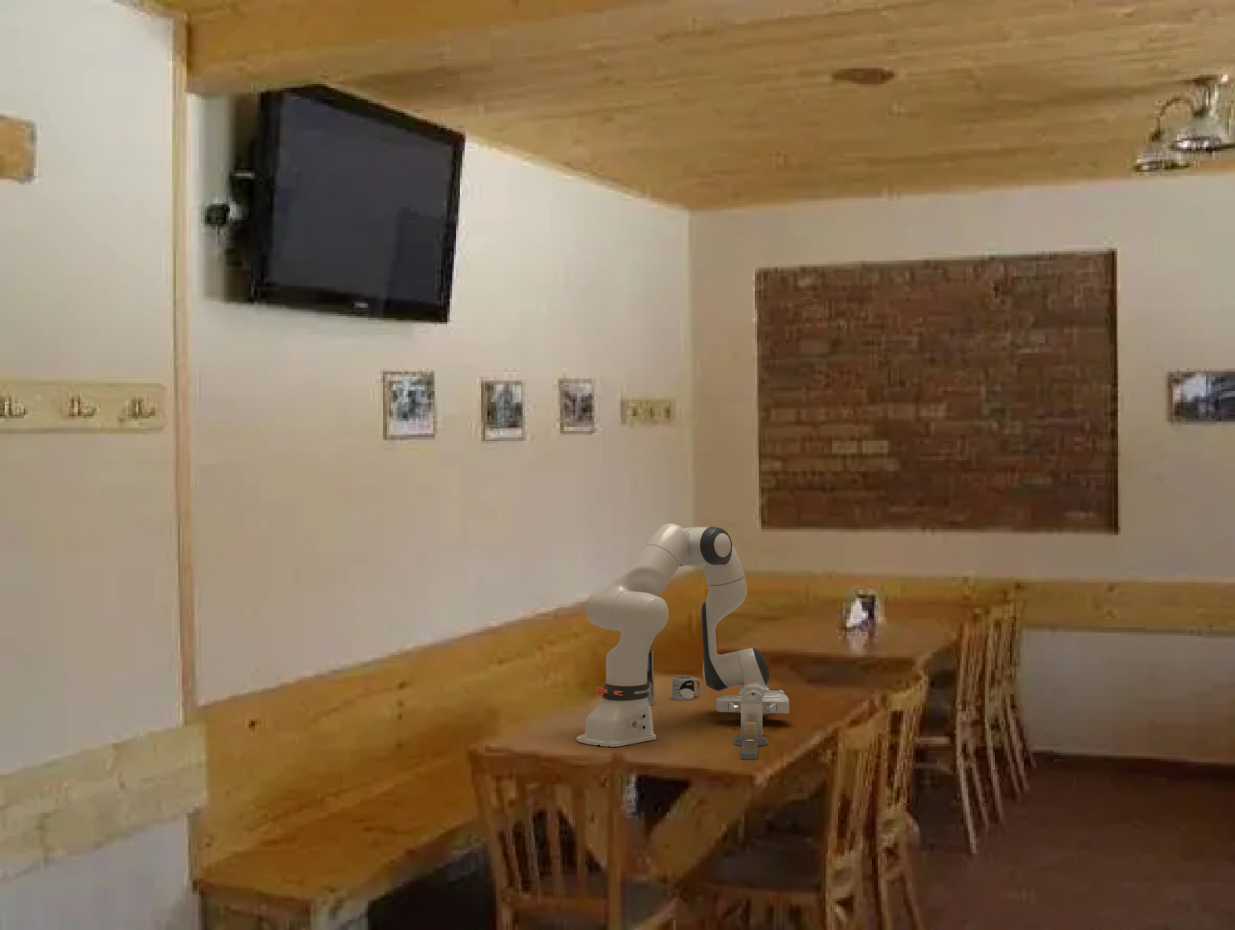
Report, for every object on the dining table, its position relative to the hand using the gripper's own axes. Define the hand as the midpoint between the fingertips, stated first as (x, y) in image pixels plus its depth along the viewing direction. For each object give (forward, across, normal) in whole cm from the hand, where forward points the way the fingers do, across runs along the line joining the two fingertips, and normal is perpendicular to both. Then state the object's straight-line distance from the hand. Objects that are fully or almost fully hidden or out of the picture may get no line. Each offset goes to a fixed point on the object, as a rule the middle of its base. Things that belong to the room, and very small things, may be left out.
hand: (752, 709), depth 416 cm
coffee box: (-36, -35, +6) cm, 50 cm away
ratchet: (+25, 0, +6) cm, 25 cm away
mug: (-46, -21, +6) cm, 51 cm away
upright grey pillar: (+8, 0, +6) cm, 9 cm away
